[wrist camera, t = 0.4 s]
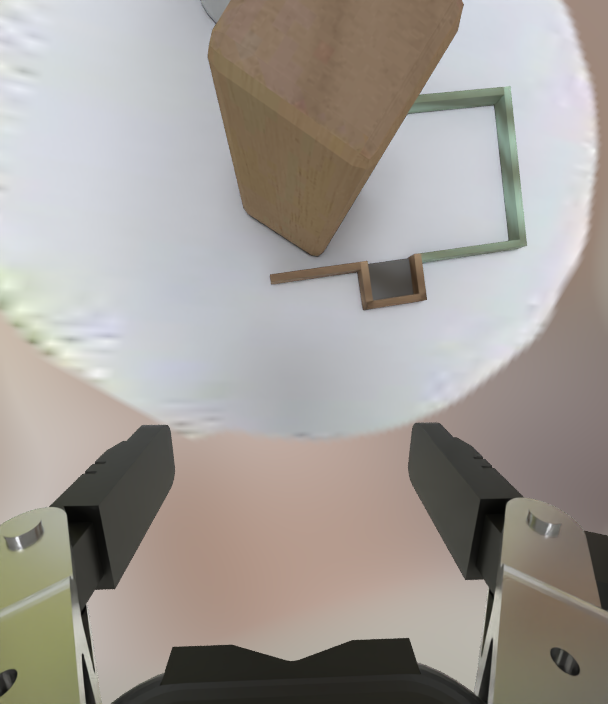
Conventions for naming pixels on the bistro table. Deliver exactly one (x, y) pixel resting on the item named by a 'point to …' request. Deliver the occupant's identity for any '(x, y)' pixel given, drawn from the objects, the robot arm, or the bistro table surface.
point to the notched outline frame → (408, 273)
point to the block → (319, 99)
